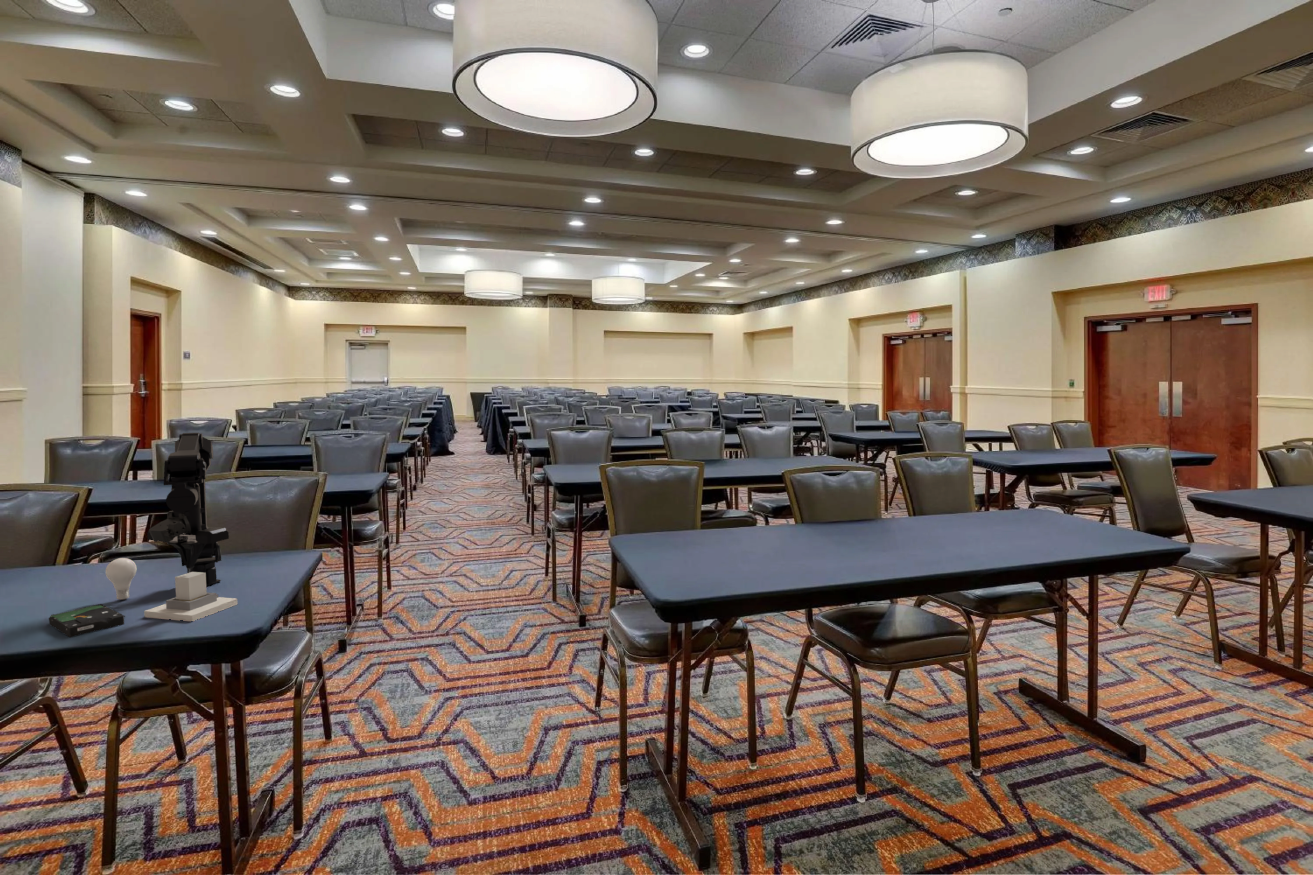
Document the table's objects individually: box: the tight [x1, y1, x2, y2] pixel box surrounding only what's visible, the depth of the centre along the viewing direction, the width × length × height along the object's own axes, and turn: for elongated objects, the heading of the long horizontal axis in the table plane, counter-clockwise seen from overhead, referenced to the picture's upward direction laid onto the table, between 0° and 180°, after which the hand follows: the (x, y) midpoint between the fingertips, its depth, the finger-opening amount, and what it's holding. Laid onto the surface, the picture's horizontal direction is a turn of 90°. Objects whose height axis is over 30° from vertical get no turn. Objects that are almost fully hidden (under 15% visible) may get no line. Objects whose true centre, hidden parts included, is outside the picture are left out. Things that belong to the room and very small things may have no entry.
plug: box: [174, 572, 208, 601], centre depth 169 cm, size 4×5×8 cm
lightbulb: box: [105, 557, 138, 601], centre depth 177 cm, size 6×6×11 cm
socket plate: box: [143, 591, 238, 622], centre depth 169 cm, size 14×13×4 cm
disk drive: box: [48, 603, 125, 638], centre depth 160 cm, size 10×3×15 cm
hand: (190, 568), depth 169 cm, fingers closed
